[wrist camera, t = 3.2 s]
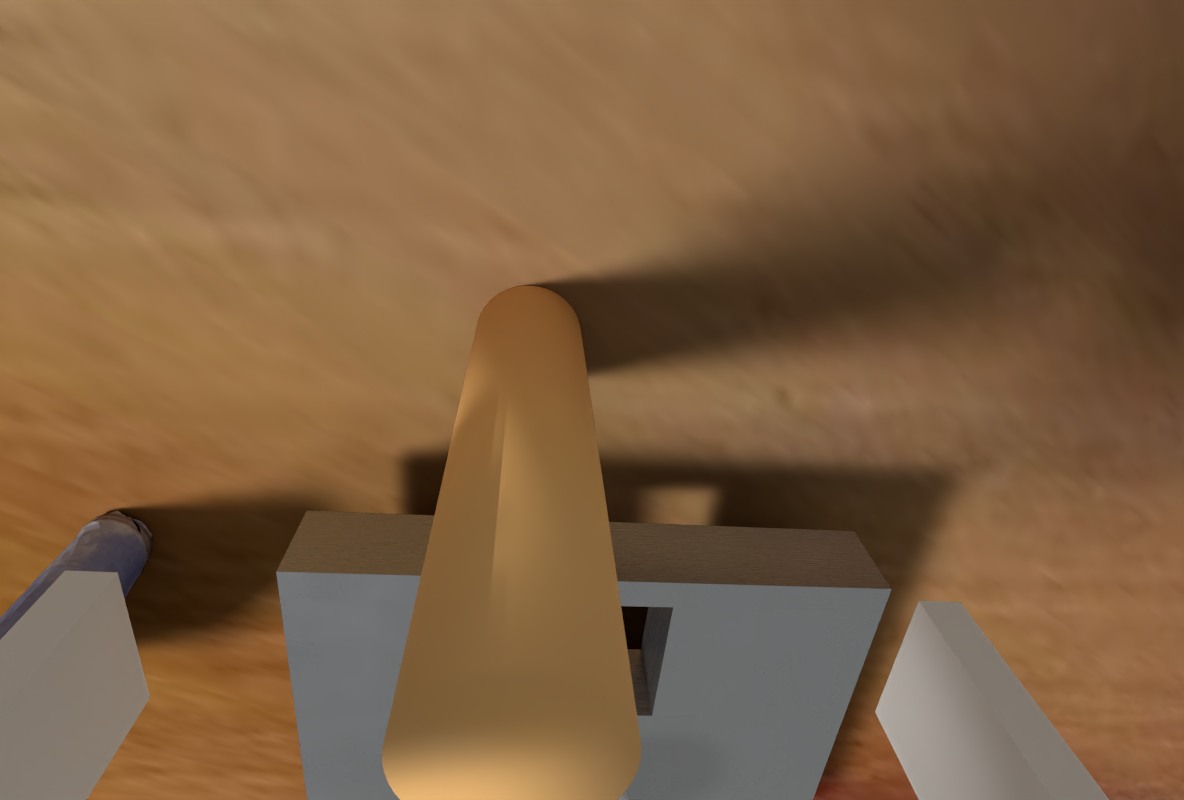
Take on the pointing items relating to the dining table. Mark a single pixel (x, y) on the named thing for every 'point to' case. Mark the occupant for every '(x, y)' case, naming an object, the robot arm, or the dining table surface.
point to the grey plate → (659, 669)
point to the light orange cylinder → (518, 587)
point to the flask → (92, 559)
